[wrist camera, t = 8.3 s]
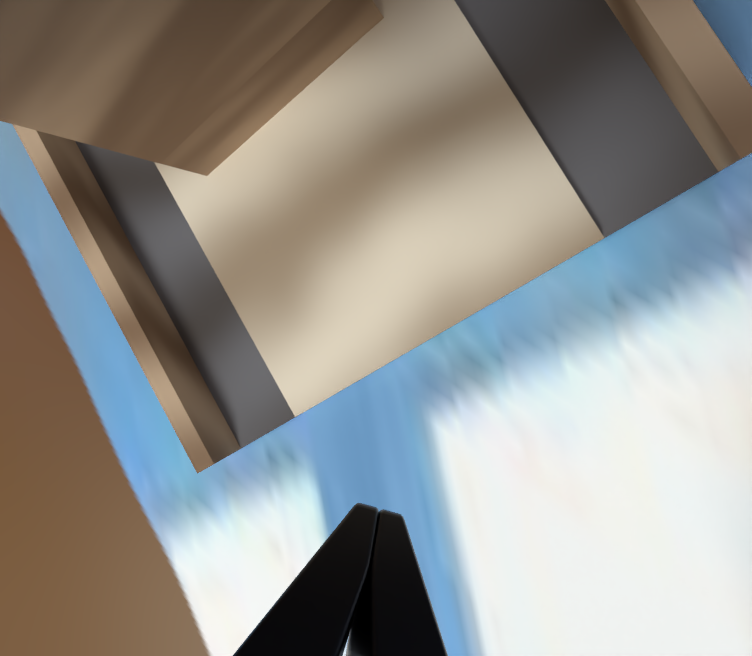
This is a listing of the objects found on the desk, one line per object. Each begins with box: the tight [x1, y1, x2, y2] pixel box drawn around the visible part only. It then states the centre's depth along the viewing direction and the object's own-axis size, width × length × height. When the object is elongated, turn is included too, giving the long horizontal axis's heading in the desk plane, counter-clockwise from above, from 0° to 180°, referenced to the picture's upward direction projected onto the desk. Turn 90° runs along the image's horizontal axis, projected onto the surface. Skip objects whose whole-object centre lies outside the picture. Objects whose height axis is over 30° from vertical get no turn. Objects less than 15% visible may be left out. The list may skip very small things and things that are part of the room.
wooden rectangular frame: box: [13, 0, 752, 473], centre depth 18 cm, size 25×22×3 cm
